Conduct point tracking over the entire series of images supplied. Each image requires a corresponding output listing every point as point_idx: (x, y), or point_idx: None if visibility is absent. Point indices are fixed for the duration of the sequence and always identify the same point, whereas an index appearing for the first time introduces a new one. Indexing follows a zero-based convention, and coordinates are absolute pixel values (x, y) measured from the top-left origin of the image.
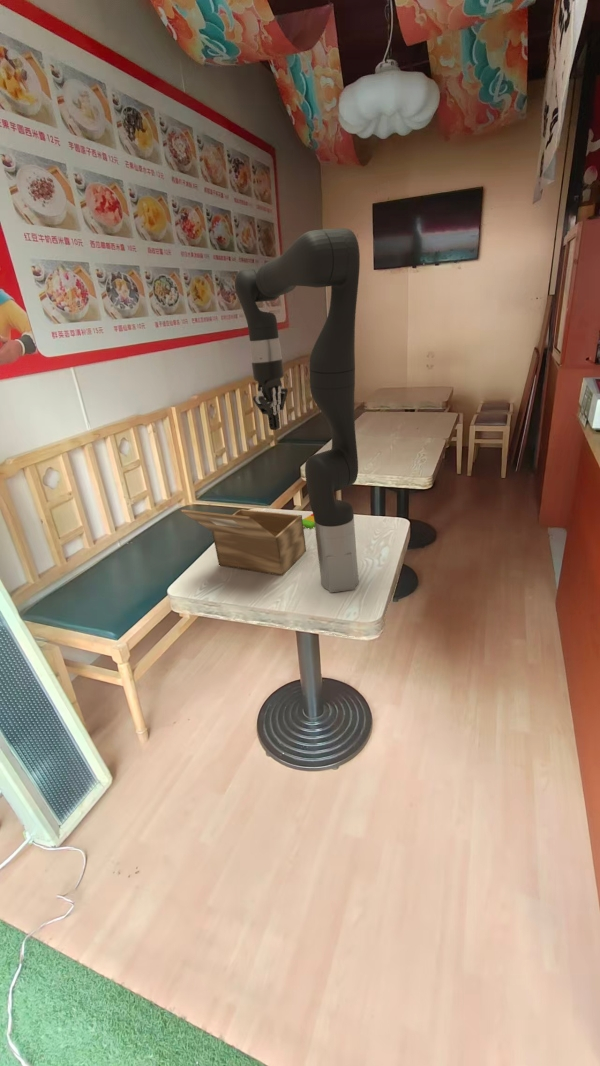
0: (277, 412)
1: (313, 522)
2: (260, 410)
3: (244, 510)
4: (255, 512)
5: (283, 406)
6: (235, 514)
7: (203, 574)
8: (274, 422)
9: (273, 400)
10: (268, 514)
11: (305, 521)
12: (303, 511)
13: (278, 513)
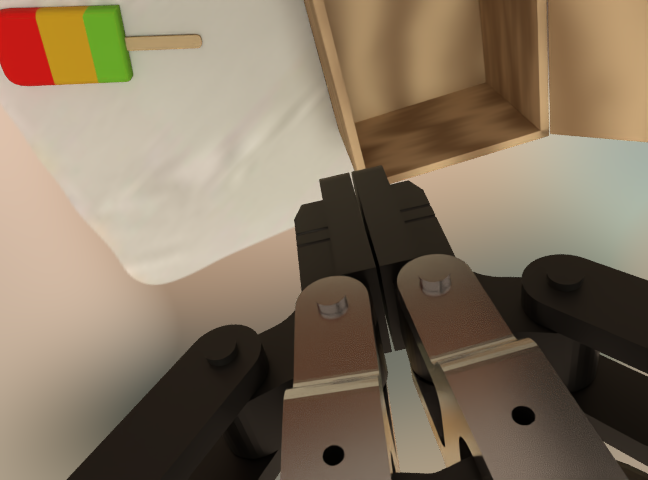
0: (363, 289)
1: (88, 18)
2: (643, 387)
3: (364, 168)
4: (352, 120)
5: (179, 369)
6: (405, 170)
7: (548, 82)
8: (407, 218)
9: (586, 422)
10: (337, 59)
11: (105, 56)
12: (34, 150)
13: (322, 11)
